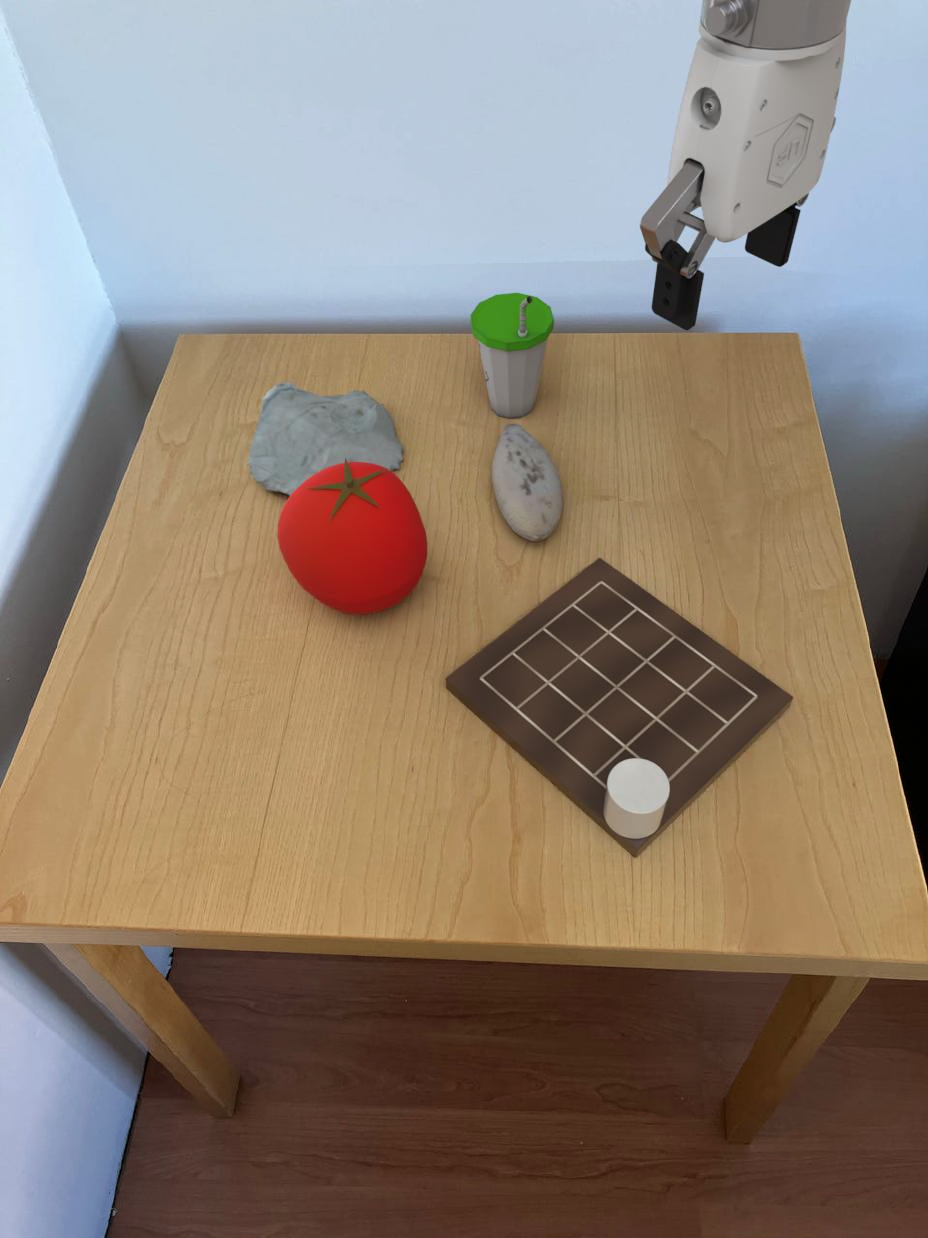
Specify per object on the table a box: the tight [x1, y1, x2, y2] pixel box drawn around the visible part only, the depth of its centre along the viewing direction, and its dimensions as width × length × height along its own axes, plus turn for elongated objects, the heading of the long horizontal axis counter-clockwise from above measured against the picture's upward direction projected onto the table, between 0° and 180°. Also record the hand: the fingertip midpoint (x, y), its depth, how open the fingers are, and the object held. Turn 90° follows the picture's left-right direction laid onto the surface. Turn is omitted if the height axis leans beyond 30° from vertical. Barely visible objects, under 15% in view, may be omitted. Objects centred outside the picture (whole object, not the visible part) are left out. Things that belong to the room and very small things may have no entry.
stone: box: [247, 381, 404, 497], centre depth 93 cm, size 16×4×15 cm
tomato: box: [276, 457, 428, 615], centre depth 79 cm, size 12×12×13 cm
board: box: [445, 557, 794, 859], centre depth 75 cm, size 20×18×2 cm
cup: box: [470, 292, 555, 420], centre depth 92 cm, size 8×8×15 cm
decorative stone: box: [491, 423, 564, 542], centre depth 88 cm, size 6×16×3 cm, turn 10°
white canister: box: [603, 758, 670, 839], centre depth 66 cm, size 4×4×4 cm
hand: (720, 287), depth 64 cm, fingers open, 9 cm apart
